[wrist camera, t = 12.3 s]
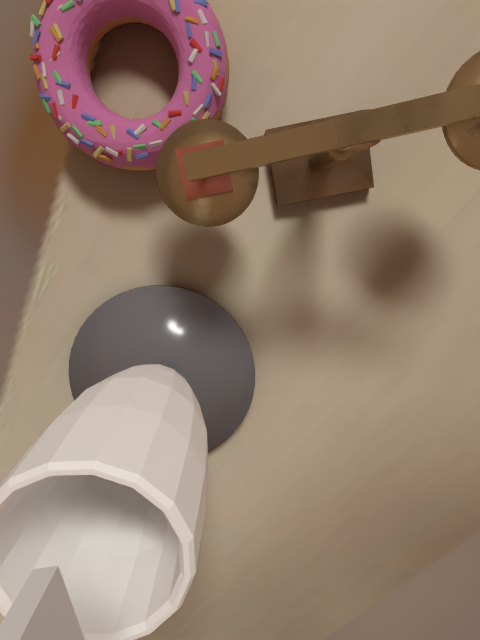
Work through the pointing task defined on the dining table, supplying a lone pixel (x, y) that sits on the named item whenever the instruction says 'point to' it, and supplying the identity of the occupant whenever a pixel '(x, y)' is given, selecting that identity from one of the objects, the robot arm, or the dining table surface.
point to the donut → (76, 87)
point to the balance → (306, 152)
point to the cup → (112, 503)
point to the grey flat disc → (170, 350)
